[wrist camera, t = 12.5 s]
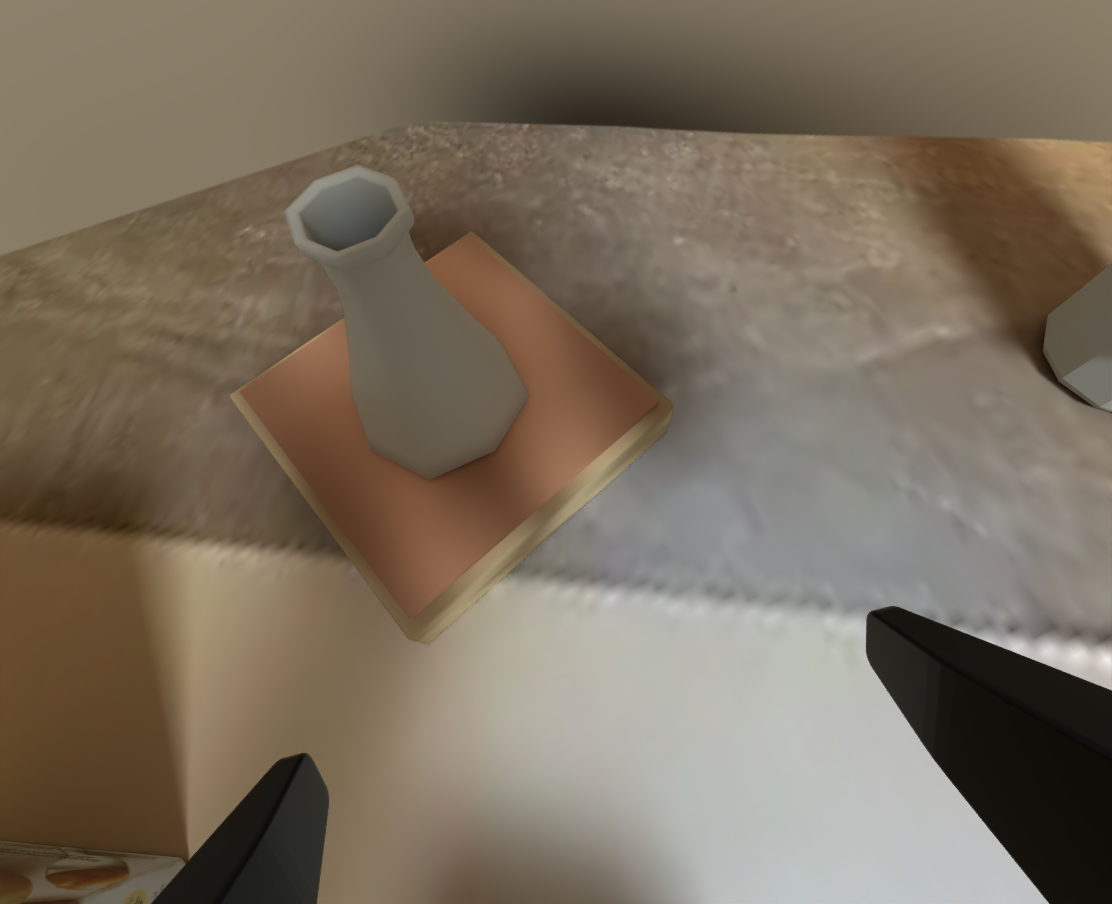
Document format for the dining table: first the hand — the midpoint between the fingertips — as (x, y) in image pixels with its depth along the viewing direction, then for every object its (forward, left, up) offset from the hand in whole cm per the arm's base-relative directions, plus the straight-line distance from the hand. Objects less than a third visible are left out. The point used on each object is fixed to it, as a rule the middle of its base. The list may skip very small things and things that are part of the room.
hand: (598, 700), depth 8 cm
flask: (+3, +13, -11) cm, 17 cm away
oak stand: (+3, +13, -14) cm, 19 cm away
